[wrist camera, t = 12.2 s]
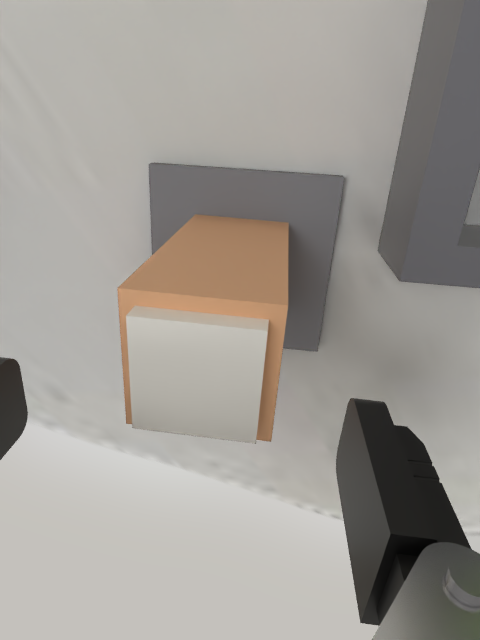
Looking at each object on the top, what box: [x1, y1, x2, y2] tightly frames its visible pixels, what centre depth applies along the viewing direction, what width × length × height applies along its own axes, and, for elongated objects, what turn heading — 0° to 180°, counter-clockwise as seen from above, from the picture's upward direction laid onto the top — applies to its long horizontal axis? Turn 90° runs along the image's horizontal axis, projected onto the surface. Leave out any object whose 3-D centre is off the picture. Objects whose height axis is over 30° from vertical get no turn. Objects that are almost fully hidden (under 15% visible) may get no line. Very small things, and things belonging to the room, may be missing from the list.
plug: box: [118, 214, 289, 444], centre depth 14 cm, size 4×4×10 cm
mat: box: [149, 163, 344, 352], centre depth 19 cm, size 8×8×1 cm
